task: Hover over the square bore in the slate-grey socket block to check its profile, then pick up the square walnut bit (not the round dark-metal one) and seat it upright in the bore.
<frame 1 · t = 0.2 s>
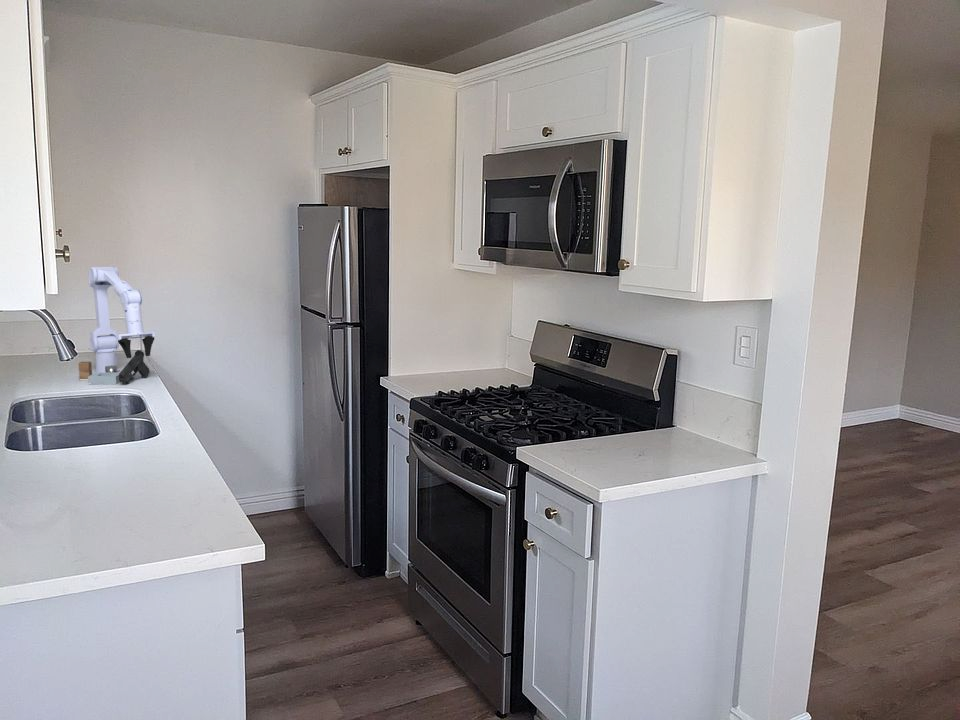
hand: (138, 357, 291), 10 cm above the countertop, tool pointing down, fingers open, 7 cm apart
socket block: (106, 382, 294), on the countertop
square bit: (86, 379, 298), on the countertop
round bit: (111, 378, 301), on the countertop
handgun: (134, 382, 297), on the countertop
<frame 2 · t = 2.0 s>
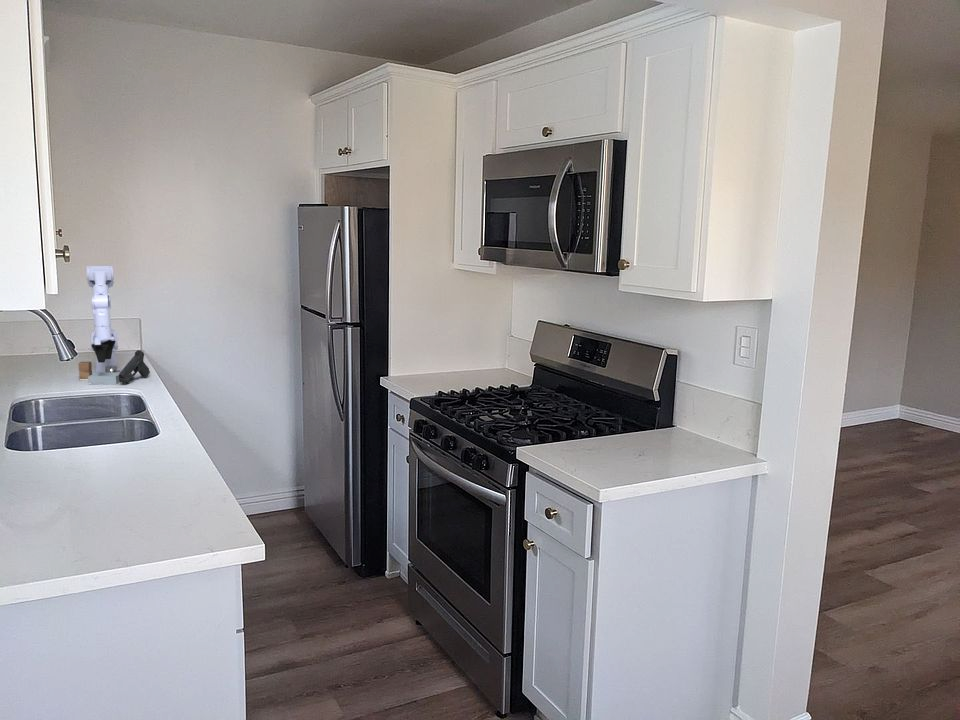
hand: (104, 360, 293), 8 cm above the countertop, tool pointing down, fingers open, 7 cm apart
nothing on the countertop moved.
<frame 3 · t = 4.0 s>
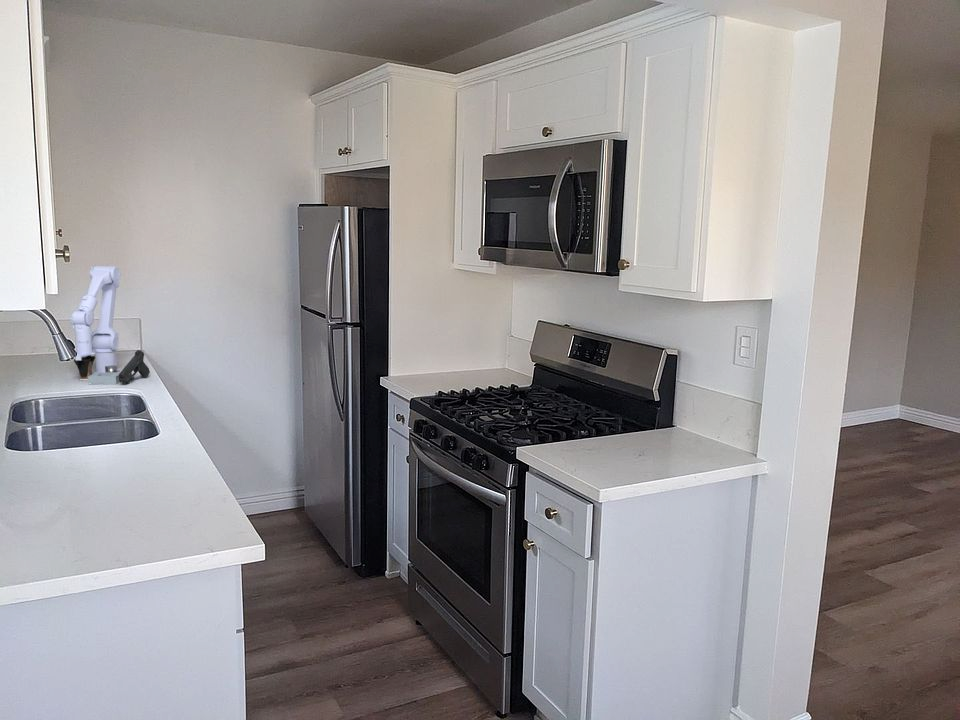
hand: (85, 375, 298), 2 cm above the countertop, tool pointing down, fingers closed on square bit, 4 cm apart
square bit: (86, 379, 298), on the countertop, touching gripper
everything else where it was.
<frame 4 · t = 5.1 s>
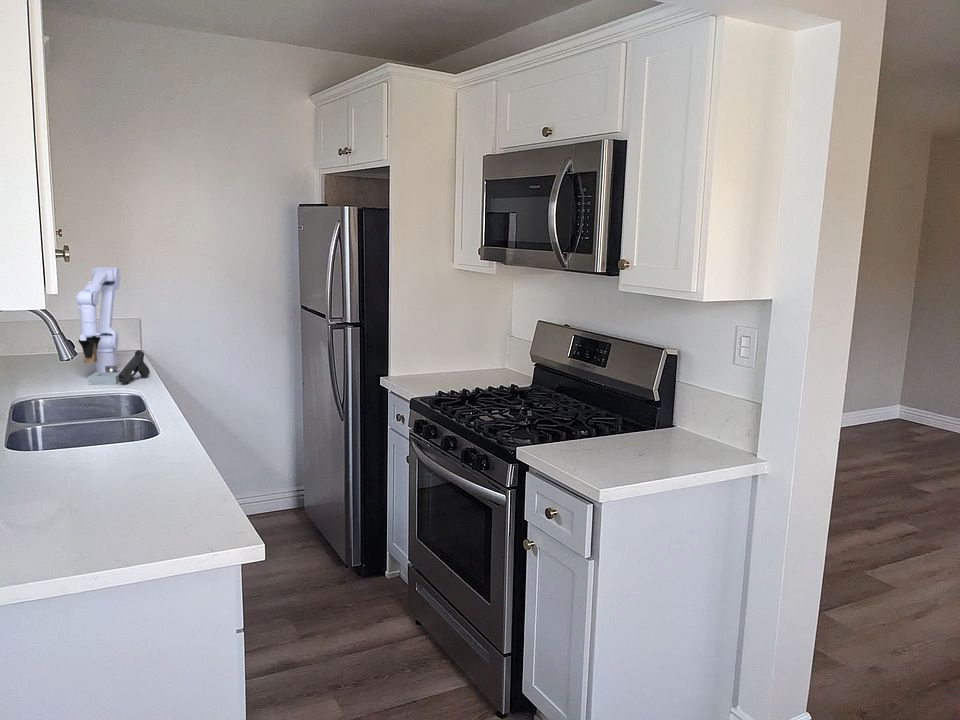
hand: (90, 356, 295), 9 cm above the countertop, tool pointing down, fingers closed on square bit, 4 cm apart
square bit: (90, 361, 295), point 7 cm above the countertop, touching gripper
everything else where it was.
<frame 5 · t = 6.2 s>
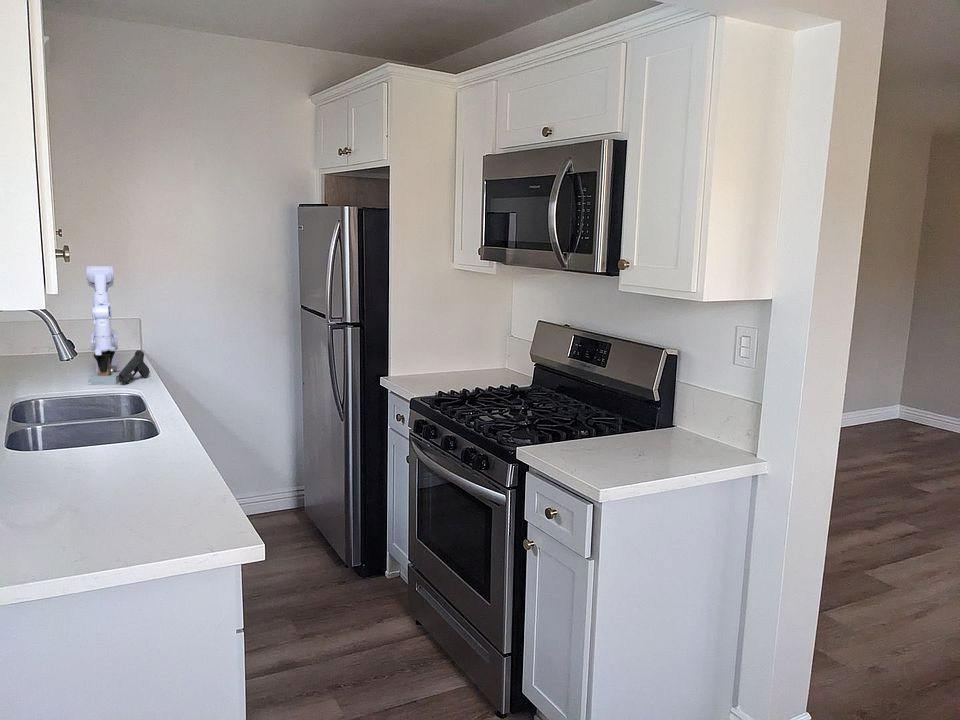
hand: (105, 370, 293), 4 cm above the countertop, tool pointing down, fingers closed on square bit, 4 cm apart
square bit: (104, 376, 294), point 2 cm above the countertop, touching gripper
everything else where it was.
when the fingers open (3 cm above the countertop, at t = 6.7 s): square bit drops 1 cm, resting in socket block.
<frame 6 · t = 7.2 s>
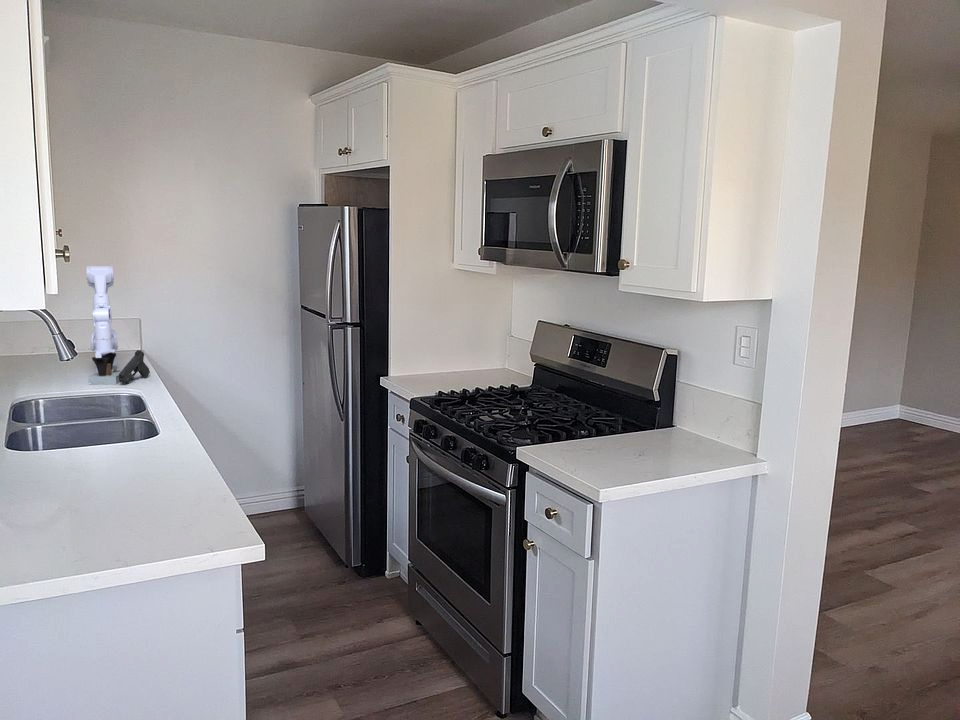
hand: (105, 373, 293), 3 cm above the countertop, tool pointing down, fingers open, 7 cm apart
square bit: (105, 382, 294), resting in socket block
everything else where it was.
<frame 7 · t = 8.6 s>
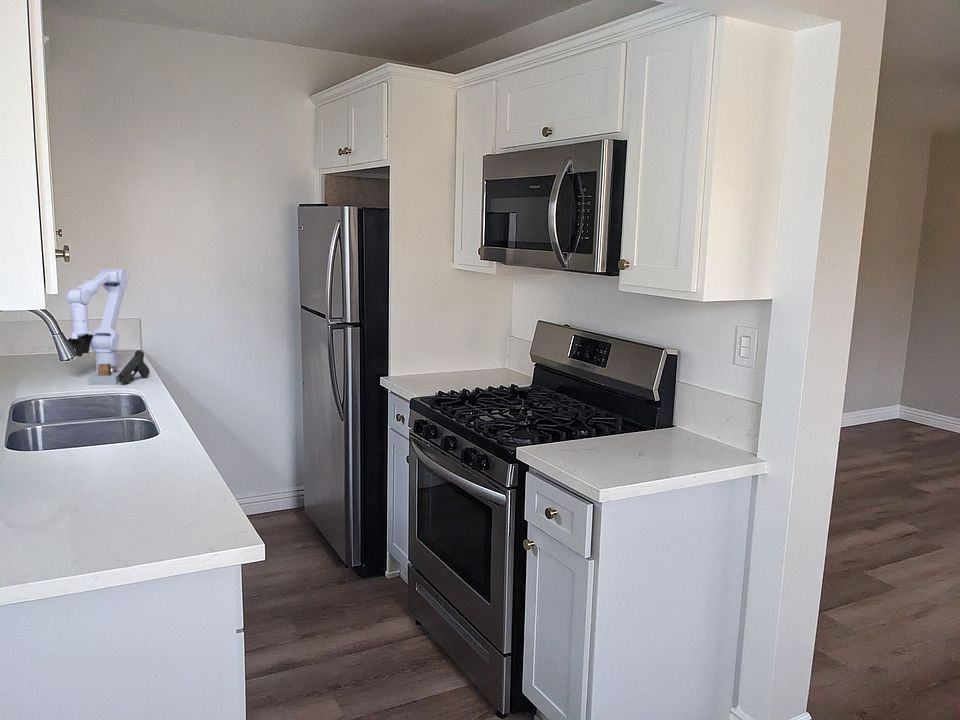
hand: (82, 354, 297), 10 cm above the countertop, tool pointing down, fingers open, 7 cm apart
nothing on the countertop moved.
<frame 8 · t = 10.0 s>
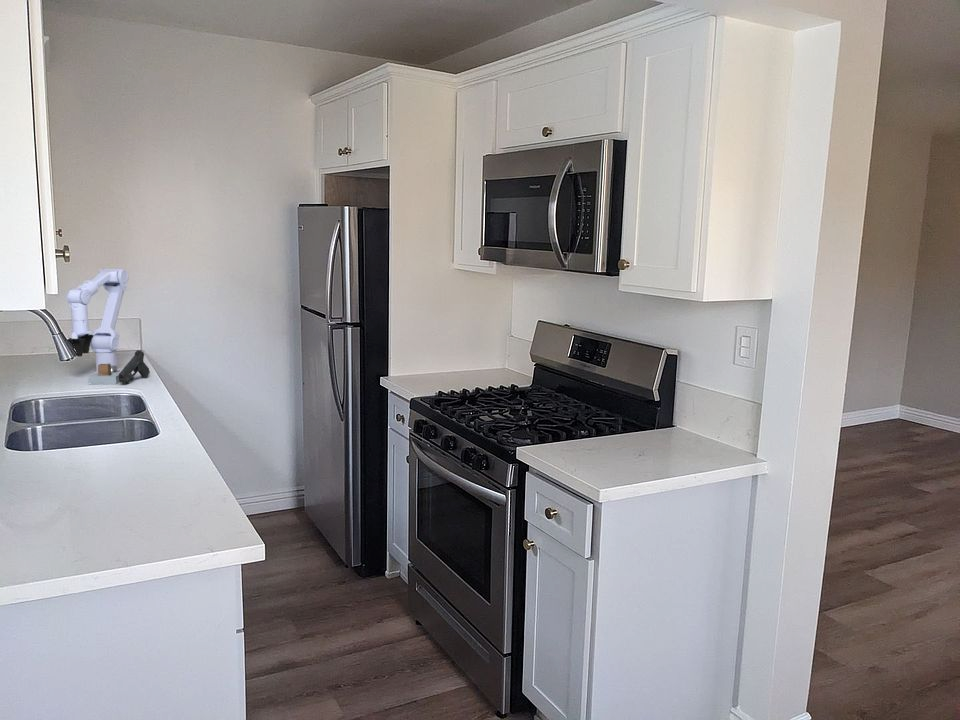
hand: (82, 354, 297), 10 cm above the countertop, tool pointing down, fingers open, 7 cm apart
nothing on the countertop moved.
at the end: square bit 0.3 cm off-centre on the socket block, point 0.0 cm above the socket block's base; square bit tilted 0°; the gripper is holding nothing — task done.
